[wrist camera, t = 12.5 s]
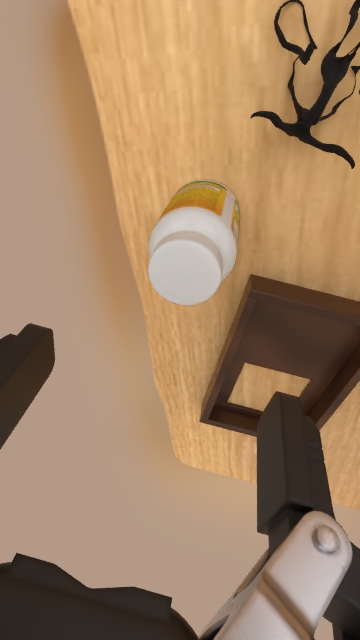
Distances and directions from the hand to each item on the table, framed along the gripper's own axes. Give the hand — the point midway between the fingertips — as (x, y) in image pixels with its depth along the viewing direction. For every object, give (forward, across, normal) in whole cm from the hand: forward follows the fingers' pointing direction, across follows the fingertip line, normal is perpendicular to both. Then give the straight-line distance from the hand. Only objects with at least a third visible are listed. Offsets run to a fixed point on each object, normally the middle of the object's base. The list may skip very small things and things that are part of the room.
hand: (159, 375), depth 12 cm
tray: (+17, -11, +13) cm, 24 cm away
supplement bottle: (+17, 0, 0) cm, 17 cm away
